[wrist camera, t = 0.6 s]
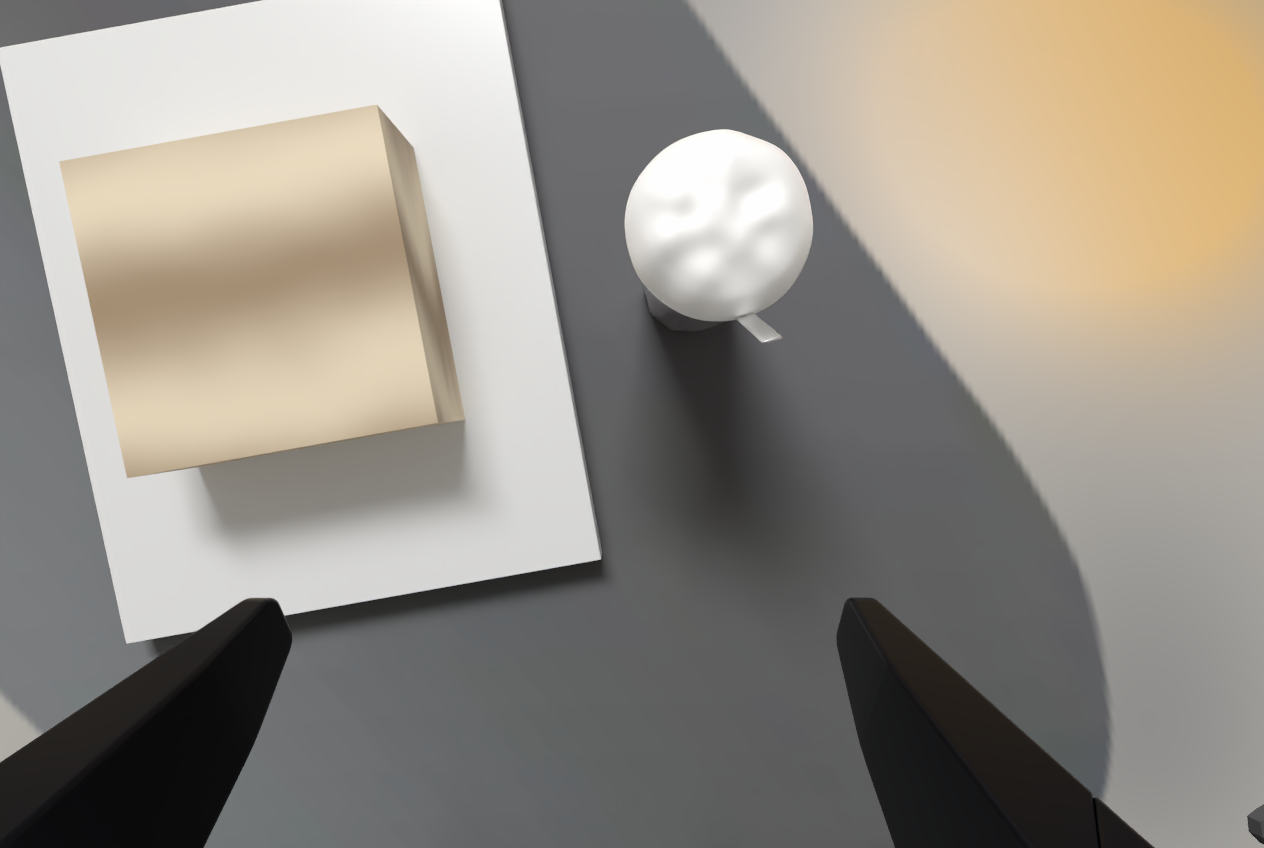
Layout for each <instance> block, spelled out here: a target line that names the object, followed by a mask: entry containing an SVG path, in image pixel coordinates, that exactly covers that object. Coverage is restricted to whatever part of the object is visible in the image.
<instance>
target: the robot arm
mask: <svg viewBox="0 0 1264 848" xmlns="http://www.w3.org/2000/svg"><path fill="white" fill-rule="evenodd" d="M291 644H292V633H291V630H290V627H289V625H288V623H287V620H286V618H285V616H284V614H283V611H282V609H281V607H280V604H279V603H278V601H277V600H275V599H274V598H248V599H245V600H243V601H241V602H239V603H238V604H236V605H235V606H233V607H232V608H230V609H229V610H227V611H226V612H224V613H223V614H222V615H220V616H219V617H217V618H216V619H214V620H213V621H211V622H210V623H208V624H207V625H205V626H204V627H202V628H201V629H199V630H198V631H196V632H195V633H193V634H192V635H190V636H189V637H187V638H186V639H184V640H183V641H181V642H180V643H178V644H177V645H175V646H174V647H172V648H171V649H169V650H168V651H166V652H165V653H163V654H162V655H160V656H159V657H157V658H156V659H154V660H153V661H151V662H150V663H148V664H147V665H145V666H144V667H142V668H141V669H139V670H138V671H136V672H135V673H133V674H132V675H130V676H129V677H127V678H126V679H124V680H123V681H121V682H120V683H118V684H117V685H115V686H114V687H112V688H111V689H109V690H108V691H106V692H105V693H103V694H102V695H100V696H99V697H97V698H96V699H94V700H93V701H91V702H90V703H89V704H87V705H86V706H84V707H83V708H81V709H80V710H78V711H77V712H75V713H74V714H72V715H71V716H69V717H68V718H66V719H65V720H63V721H62V722H60V723H59V724H57V725H56V726H54V727H53V728H51V729H50V730H48V731H47V732H45V733H44V734H42V735H41V736H39V737H38V738H36V739H35V740H33V741H32V742H30V743H29V744H27V745H26V746H24V747H23V748H21V749H20V750H18V751H17V752H15V753H14V754H12V755H11V756H10V757H8V758H6V759H5V760H3V761H2V762H0V848H204V846H205V844H206V841H207V839H208V837H209V835H210V833H211V831H212V829H213V827H214V825H215V823H216V821H217V819H218V817H219V815H220V813H221V811H222V809H223V807H224V805H225V803H226V801H227V799H228V797H229V795H230V793H231V791H232V789H233V787H234V785H235V782H236V780H237V778H238V776H239V774H240V772H241V770H242V768H243V766H244V764H245V762H246V760H247V758H248V756H249V754H250V751H251V749H252V747H253V745H254V743H255V740H256V738H257V735H258V733H259V730H260V728H261V725H262V723H263V720H264V717H265V715H266V712H267V709H268V707H269V704H270V701H271V699H272V696H273V694H274V691H275V688H276V686H277V683H278V680H279V678H280V675H281V672H282V670H283V667H284V664H285V662H286V659H287V656H288V654H289V651H290V648H291ZM837 648H838V652H839V657H840V661H841V665H842V670H843V674H844V678H845V683H846V687H847V691H848V696H849V700H850V704H851V709H852V713H853V717H854V722H855V726H856V730H857V734H858V738H859V742H860V746H861V749H862V752H863V755H864V759H865V762H866V765H867V768H868V770H869V773H870V776H871V779H872V782H873V785H874V788H875V791H876V794H877V797H878V800H879V803H880V805H881V808H882V811H883V814H884V817H885V820H886V823H887V826H888V829H889V832H890V835H891V837H892V840H893V843H894V846H895V848H1154V847H1153V846H1152V845H1151V844H1149V842H1148V841H1146V840H1145V839H1144V838H1143V837H1142V836H1141V835H1139V834H1138V833H1137V832H1136V831H1135V830H1134V829H1133V828H1131V827H1130V826H1129V825H1128V824H1127V823H1126V822H1125V821H1123V820H1122V819H1121V818H1120V817H1119V816H1118V815H1117V814H1116V813H1114V812H1113V811H1112V810H1111V809H1110V808H1109V807H1108V806H1107V805H1106V804H1104V803H1103V802H1102V801H1101V800H1100V799H1099V798H1093V796H1092V793H1091V791H1090V790H1088V789H1087V788H1086V787H1085V786H1084V785H1083V784H1082V783H1081V782H1080V781H1078V780H1077V779H1076V778H1075V777H1074V776H1073V775H1072V774H1071V773H1069V772H1068V771H1067V770H1066V769H1065V768H1064V767H1063V766H1062V765H1061V764H1059V763H1058V762H1057V761H1056V760H1055V759H1054V758H1053V757H1052V756H1050V755H1049V754H1048V753H1047V752H1046V751H1045V750H1044V749H1043V748H1042V747H1040V746H1039V745H1038V744H1037V743H1036V742H1035V741H1034V740H1033V739H1031V738H1030V737H1029V736H1028V735H1027V734H1026V733H1025V732H1024V731H1023V730H1021V729H1020V728H1019V727H1018V726H1017V725H1016V724H1015V723H1014V722H1012V721H1011V720H1010V719H1009V718H1008V717H1007V716H1006V715H1005V714H1004V713H1002V712H1001V711H1000V710H999V709H998V708H997V707H996V706H995V705H993V704H992V703H991V702H990V701H989V700H988V699H987V698H986V697H985V696H983V695H982V694H981V693H980V692H979V691H978V690H977V689H976V688H974V687H973V686H972V685H971V684H970V683H969V682H968V681H967V680H966V679H964V678H963V677H962V676H961V675H960V674H959V673H958V672H957V671H955V670H954V669H953V668H952V667H951V666H950V665H949V664H948V663H947V662H945V661H944V660H943V659H942V658H941V657H940V656H939V655H938V654H936V653H935V652H934V651H933V650H932V649H931V648H930V647H929V646H928V645H926V644H925V643H924V642H923V641H922V640H921V639H920V638H919V637H917V636H916V635H915V634H914V633H913V632H912V631H911V630H910V629H909V628H907V627H906V626H905V625H904V624H903V623H902V622H901V621H900V620H898V619H897V618H896V617H895V616H894V615H893V614H892V613H891V612H890V611H888V610H887V609H886V608H885V607H884V606H883V605H882V604H881V603H880V602H878V601H877V600H875V599H873V598H849V599H847V601H846V602H845V604H844V608H843V612H842V615H841V619H840V623H839V627H838V631H837Z"/></svg>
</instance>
